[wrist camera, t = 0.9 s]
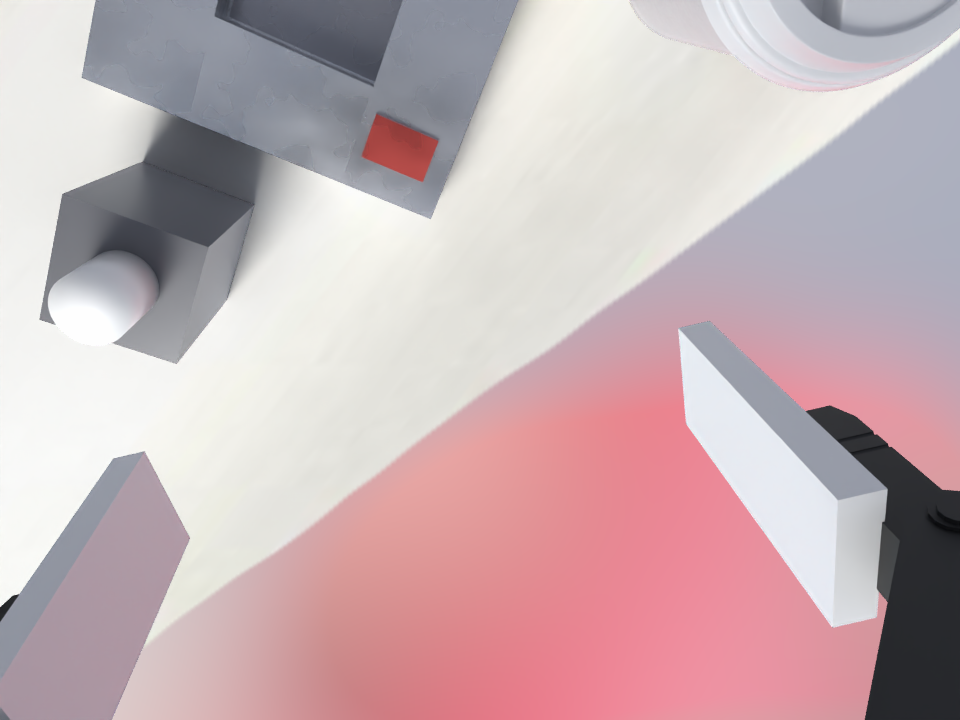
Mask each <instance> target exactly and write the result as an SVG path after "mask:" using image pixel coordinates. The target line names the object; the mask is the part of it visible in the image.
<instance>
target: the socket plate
mask: <svg viewBox="0 0 960 720" xmlns="http://www.w3.org/2000/svg"><path fill="white" fill-rule="evenodd" d="M517 2H518V0H96V2H95V7H94V13H93V18H92V24H91V29H90V35H89V40H88V46H87V51H86V57H85V62H84V68H83V74H82V78H84V79H86V80H89V81H91V82H94V83H96V84H99V85H101V86H104V87H106V88H109V89H111V90H113V91H116V92H118V93H121V94H123V95H126V96H128V97H131V98H133V99H136V100H138V101H141V102H143V103H146V104H148V105H151V106H153V107H155V108H158V109H160V110H163V111H165V112H168V113H170V114H173V115H175V116H178V117H180V118H183V119H185V120H188V121H190V122H192V123H195V124H197V125H200V126H202V127H205V128H207V129H210V130H212V131H215V132H217V133H220V134H222V135H225V136H227V137H230V138H232V139H234V140H237V141H239V142H242V143H244V144H247V145H249V146H252V147H254V148H257V149H259V150H262V151H264V152H267V153H269V154H271V155H274V156H276V157H279V158H281V159H284V160H286V161H289V162H291V163H294V164H296V165H299V166H301V167H304V168H306V169H309V170H311V171H313V172H316V173H318V174H321V175H323V176H326V177H328V178H331V179H333V180H336V181H338V182H341V183H343V184H346V185H348V186H350V187H353V188H355V189H358V190H360V191H363V192H365V193H368V194H370V195H373V196H375V197H378V198H380V199H383V200H385V201H388V202H390V203H392V204H395V205H397V206H400V207H402V208H405V209H407V210H410V211H412V212H415V213H417V214H420V215H422V216H425V217H427V218H429V219H431V217H432V215H433V212H434V210H435V207H436V205H437V202H438V200H439V197H440V195H441V192H442V190H443V187H444V185H445V182H446V180H447V177H448V175H449V172H450V170H451V167H452V165H453V162H454V160H455V157H456V155H457V152H458V150H459V147H460V145H461V142H462V140H463V137H464V135H465V132H466V130H467V127H468V125H469V122H470V120H471V117H472V115H473V112H474V110H475V107H476V104H477V102H478V99H479V97H480V94H481V92H482V89H483V87H484V84H485V82H486V79H487V77H488V74H489V72H490V69H491V67H492V64H493V62H494V59H495V57H496V54H497V52H498V49H499V47H500V44H501V42H502V39H503V37H504V34H505V32H506V29H507V27H508V24H509V22H510V19H511V17H512V14H513V12H514V9H515V7H516V4H517Z"/></svg>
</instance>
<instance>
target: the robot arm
mask: <svg viewBox="0 0 960 720" xmlns="http://www.w3.org/2000/svg"><path fill="white" fill-rule="evenodd" d="M678 330H679V342H680V354H681V367H682V378H683V392H684V404H685V417H686V424H687V426H688V427H689V428H690V430H691V431H692V433H693V434H694V435H695V437H696V438H697V440H698V441H699V442H700V444H701V445H702V447H703V448H704V449H705V451H706V452H707V454H708V455H709V456H710V458H711V459H712V460H713V462H714V463H715V465H716V466H717V468H718V469H719V470H720V472H721V473H722V474H723V476H724V477H725V479H726V480H727V481H728V483H729V484H730V486H731V487H732V488H733V490H734V491H735V492H736V494H737V495H738V497H739V498H740V500H741V501H742V502H743V504H744V505H745V507H746V508H747V509H748V511H749V512H750V513H751V515H752V516H753V518H754V519H755V520H756V522H757V523H758V525H759V526H760V527H761V529H762V530H763V532H764V533H765V534H766V536H767V537H768V539H769V540H770V541H771V543H772V544H773V546H774V547H775V548H776V550H777V551H778V552H779V554H780V555H781V557H782V558H783V559H784V561H785V562H786V564H787V565H788V566H789V568H790V569H791V571H792V572H793V573H794V575H795V576H796V578H797V579H798V580H799V582H800V583H801V585H802V586H803V587H804V589H805V590H806V591H807V593H808V594H809V596H810V597H811V598H812V600H813V601H814V603H815V604H816V605H817V607H818V608H819V610H820V611H821V612H822V614H823V615H824V616H825V618H826V619H827V621H828V622H829V623H830V625H831V626H832V627H837V626H842V625H846V624H850V623H855V622H859V621H863V620H868V619H872V618H876V617H877V608H878V596H879V592H880V593H881V595H882V596H883V597H884V598H885V599H886V601H887V602H888V604H887V609H886V614H885V619H884V624H883V629H882V634H881V640H880V645H879V650H878V655H877V660H876V665H875V670H874V675H873V680H872V685H871V691H870V695H869V701H868V706H867V711H866V716H865V720H960V491H951V490H942V489H940V488H939V487H938V486H937V485H936V484H935V483H933V482H932V481H931V480H930V479H929V478H928V477H926V476H925V475H924V474H923V473H922V472H920V471H919V470H918V469H917V468H916V467H915V466H913V465H912V464H911V463H910V462H909V461H908V460H906V459H905V458H904V457H903V456H902V455H900V454H899V453H898V452H897V451H896V450H895V449H893V448H892V447H889V446H888V443H886V442H885V441H884V440H883V439H882V438H881V437H879V436H878V435H874V433H873V431H872V430H871V429H870V428H869V427H868V426H866V425H865V424H864V423H863V422H862V421H860V420H859V419H858V418H857V417H855V416H854V415H851V414H849V413H847V412H844V411H842V410H839V409H837V408H835V407H832V406H826V407H821V408H817V409H813V410H808V411H805V410H804V409H802V408H801V407H800V406H799V405H798V404H797V403H796V402H795V401H794V400H793V399H792V398H791V397H790V396H789V395H788V394H786V392H784V391H783V390H782V389H781V388H780V387H779V386H778V385H777V384H776V383H775V382H774V381H773V380H772V379H771V378H770V377H769V376H768V375H766V374H765V373H764V372H763V371H762V370H761V369H760V368H759V367H758V366H757V365H756V364H755V363H754V362H753V361H752V360H751V359H749V358H748V357H747V356H746V355H745V354H744V353H743V352H742V351H741V350H740V349H739V348H738V347H737V346H736V345H735V344H734V343H733V342H731V341H730V340H729V339H728V338H727V337H726V336H725V335H724V334H723V333H722V332H721V331H720V330H719V329H718V328H716V326H715V325H713V324H712V323H711V322H710V321H707V322H703V323H698V324H694V325H689V326H685V327H681V328H678ZM189 539H190V537H189V535H188V533H187V532H186V530H185V528H184V526H183V524H182V522H181V520H180V518H179V516H178V514H177V512H176V511H175V509H174V507H173V505H172V503H171V501H170V499H169V497H168V495H167V493H166V491H165V490H164V488H163V486H162V484H161V482H160V480H159V478H158V476H157V474H156V472H155V470H154V469H153V467H152V465H151V463H150V461H149V459H148V457H147V455H146V453H145V451H144V452H140V453H136V454H131V455H127V456H123V457H118V458H114V459H113V460H112V461H111V463H110V464H109V466H108V467H107V469H106V470H105V472H104V473H103V474H102V476H101V477H100V479H99V480H98V482H97V483H96V485H95V486H94V487H93V489H92V490H91V492H90V493H89V495H88V496H87V498H86V499H85V500H84V502H83V503H82V505H81V506H80V508H79V509H78V511H77V512H76V513H75V515H74V516H73V518H72V519H71V521H70V522H69V524H68V525H67V526H66V528H65V529H64V531H63V532H62V534H61V535H60V537H59V538H58V539H57V541H56V542H55V544H54V545H53V547H52V548H51V550H50V551H49V552H48V554H47V555H46V557H45V558H44V560H43V561H42V563H41V564H40V565H39V567H38V568H37V570H36V571H35V573H34V574H33V576H32V577H31V578H30V580H29V581H28V583H27V584H26V586H25V587H24V589H23V590H22V591H21V593H20V594H18V595H14V596H12V597H11V598H10V599H9V600H8V601H7V602H6V603H4V604H3V605H2V606H1V607H0V720H112V718H113V715H114V713H115V711H116V709H117V706H118V704H119V702H120V699H121V697H122V695H123V692H124V690H125V688H126V685H127V683H128V681H129V678H130V676H131V674H132V672H133V669H134V667H135V664H136V662H137V660H138V658H139V655H140V653H141V651H142V648H143V646H144V644H145V641H146V639H147V637H148V634H149V632H150V630H151V627H152V625H153V623H154V620H155V618H156V616H157V614H158V611H159V609H160V607H161V604H162V602H163V600H164V597H165V595H166V593H167V590H168V588H169V586H170V583H171V581H172V579H173V576H174V574H175V572H176V569H177V567H178V565H179V563H180V560H181V558H182V556H183V553H184V551H185V549H186V546H187V544H188V542H189Z"/></svg>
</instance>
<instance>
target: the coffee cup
mask: <svg viewBox="0 0 960 720" xmlns="http://www.w3.org/2000/svg"><path fill="white" fill-rule="evenodd" d="M629 2H630V4H631V6H632V8H633V10H634V12H635V13H636V15H637V16H638V18H639V19H640V20H641V21H642V23H643V24H644V25H645V26H646V27H648V28H649V29H650V30H651V31H653V32H654V33H656V34H658V35H660V36H662V37H664V38H667V39H670V40H674V41H678V42H682V43H686V44H690V45H694V46H698V47H701V48H705V49H709V50H713V51H717V52H721V53H724V54H728V55H732V56H735V57H736V58H737V59H738V60H739V61H740V62H741V63H742V64H743V65H745V66H746V67H747V68H748V69H750V70H751V71H753V72H754V73H756V74H757V75H759V76H761V77H762V78H764V79H766V80H768V81H770V82H773V83H775V84H778V85H781V86H784V87H787V88H791V89H796V90H802V91H812V92H828V91H838V90H844V89H849V88H854V87H858V86H861V85H864V84H867V83H870V82H873V81H876V80H879V79H881V78H884V77H886V76H889V75H891V74H893V73H895V72H897V71H899V70H901V69H903V68H905V67H907V66H909V65H910V64H912V63H914V62H915V61H917V60H918V59H920V58H921V57H923V56H924V55H926V54H927V53H929V52H930V51H932V50H933V49H935V48H936V47H937V46H939V45H940V44H941V43H942V42H944V41H945V40H946V39H947V38H948V37H950V36H951V35H952V34H953V33H954V32H955V31H957V30H958V29H959V28H960V0H629Z"/></svg>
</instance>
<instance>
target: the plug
mask: <svg viewBox="0 0 960 720" xmlns="http://www.w3.org/2000/svg"><path fill="white" fill-rule="evenodd" d="M253 209H254V204H251V203H248V202H246V201H243V200H241V199H238V198H235V197H233V196H230V195H228V194H225V193H222V192H220V191H217V190H215V189H212V188H209V187H207V186H204V185H202V184H199V183H196V182H194V181H191V180H189V179H186V178H183V177H181V176H178V175H176V174H173V173H171V172H168V171H165V170H163V169H160V168H158V167H155V166H152V165H150V164H147V163H145V162H141V163H138V164H136V165H133V166H131V167H128V168H126V169H123V170H121V171H118V172H116V173H113V174H111V175H108V176H106V177H103V178H101V179H98V180H96V181H93V182H91V183H88V184H86V185H83V186H81V187H79V188H76V189H74V190H71V191H69V192H66V193H64V194H62V199H61V204H60V210H59V215H58V221H57V226H56V232H55V237H54V243H53V248H52V254H51V259H50V265H49V270H48V276H47V281H46V287H45V292H44V298H43V303H42V309H41V314H40V320H42V321H45V322H48V323H52V324H55V325H57V327H58V328H59V329H60V330H61V331H62V332H63V333H65V334H66V335H67V336H69V337H70V338H72V339H74V340H76V341H78V342H80V343H83V344H87V345H96V346H99V345H106V344H110V343H114V344H117V345H120V346H123V347H126V348H129V349H132V350H135V351H138V352H141V353H145V354H148V355H151V356H154V357H157V358H160V359H163V360H166V361H169V362H172V363H176V364H177V363H178V361H179V360H180V359H181V358H182V356H183V355H184V354H185V352H186V351H187V350H188V349H189V347H190V346H191V345H192V344H193V342H194V341H195V340H196V338H197V337H198V336H199V335H200V333H201V332H202V331H203V330H204V328H205V327H206V326H207V325H208V323H209V322H210V321H211V319H212V318H213V317H214V316H215V314H216V313H217V312H218V311H219V309H220V308H221V307H222V305H223V304H224V303H225V302H226V300H227V297H228V294H229V290H230V287H231V283H232V280H233V277H234V273H235V270H236V266H237V263H238V260H239V256H240V253H241V249H242V246H243V243H244V239H245V236H246V232H247V229H248V226H249V222H250V219H251V215H252V212H253Z"/></svg>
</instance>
